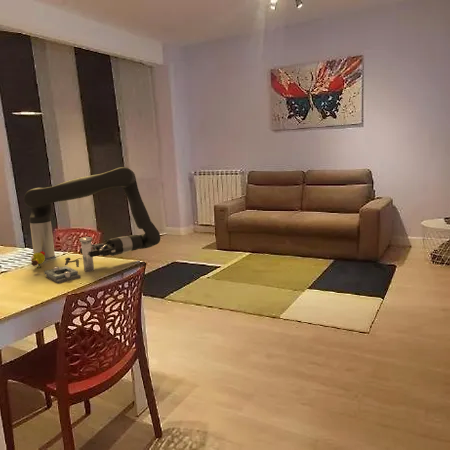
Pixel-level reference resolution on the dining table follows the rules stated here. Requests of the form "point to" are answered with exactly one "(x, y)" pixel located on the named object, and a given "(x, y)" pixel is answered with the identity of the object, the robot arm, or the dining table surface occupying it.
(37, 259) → the toy figure
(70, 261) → the hacksaw
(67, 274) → the chain end lower
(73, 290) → the dining table surface
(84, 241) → the steel pin
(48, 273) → the chain end upper
